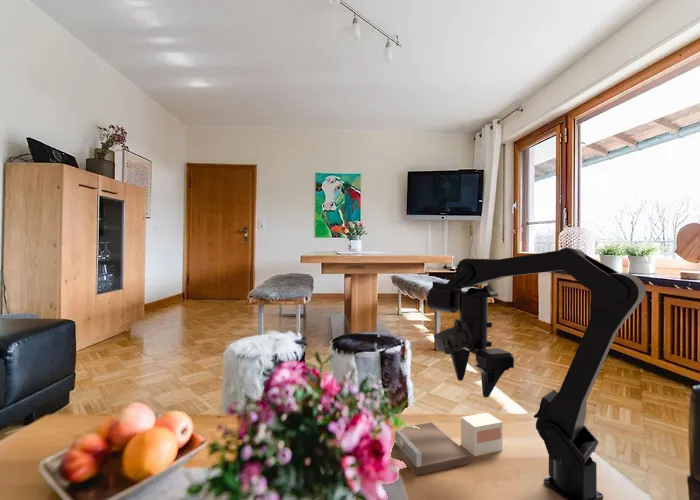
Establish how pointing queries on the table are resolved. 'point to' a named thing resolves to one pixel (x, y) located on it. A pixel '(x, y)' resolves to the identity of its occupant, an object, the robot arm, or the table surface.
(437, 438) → the shelf board
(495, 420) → the carton
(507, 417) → the table surface
